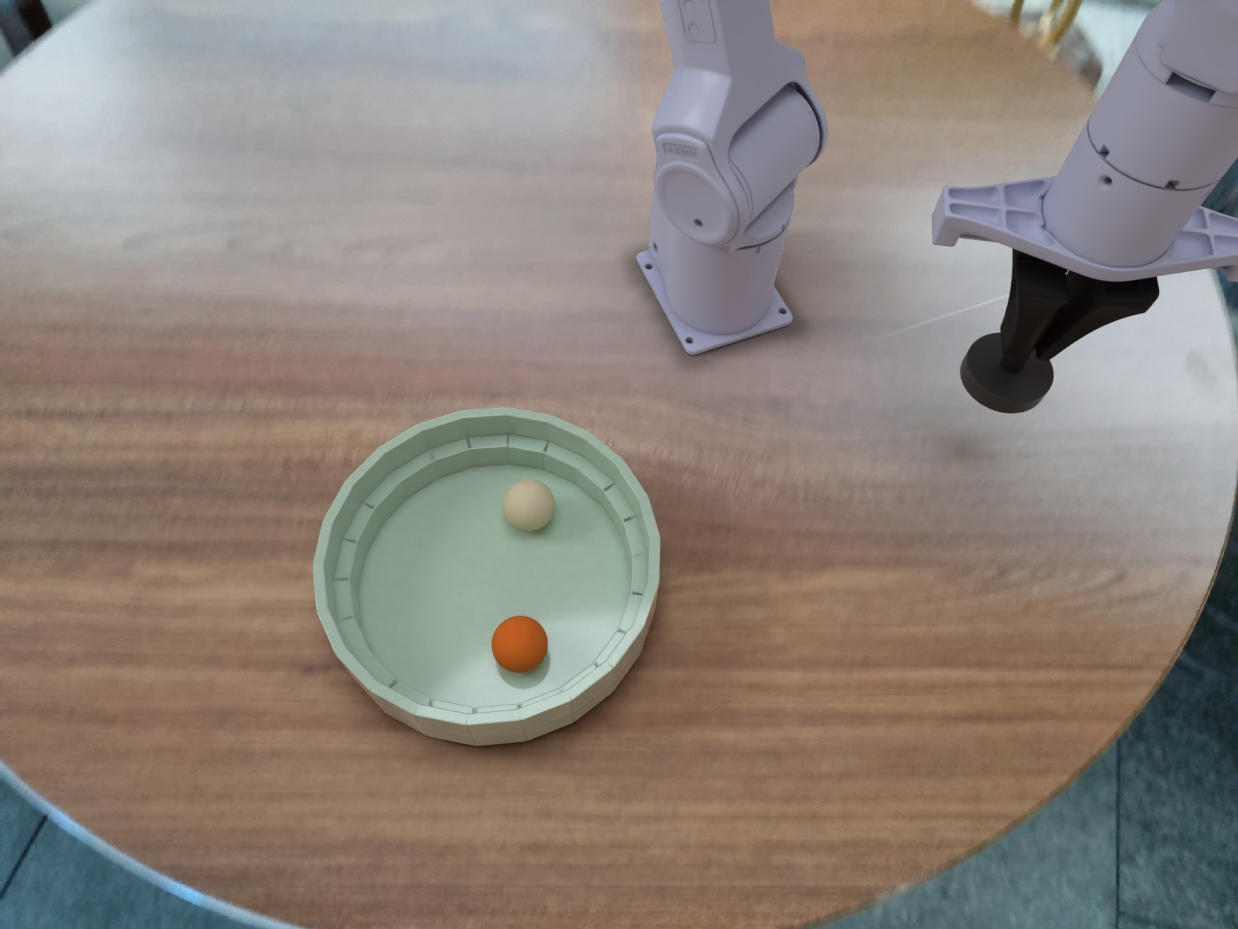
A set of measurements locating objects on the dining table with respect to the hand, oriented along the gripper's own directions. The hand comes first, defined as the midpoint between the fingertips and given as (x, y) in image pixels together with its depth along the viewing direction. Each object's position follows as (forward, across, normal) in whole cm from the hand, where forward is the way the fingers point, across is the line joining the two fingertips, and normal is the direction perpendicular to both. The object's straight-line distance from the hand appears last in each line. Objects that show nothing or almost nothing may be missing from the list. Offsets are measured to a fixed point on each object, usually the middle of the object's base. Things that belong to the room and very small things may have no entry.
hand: (1024, 343), depth 50 cm
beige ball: (+8, +26, +10) cm, 29 cm away
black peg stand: (+3, 0, 0) cm, 3 cm away
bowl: (+10, +27, +14) cm, 32 cm away
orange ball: (+8, +25, +18) cm, 32 cm away
